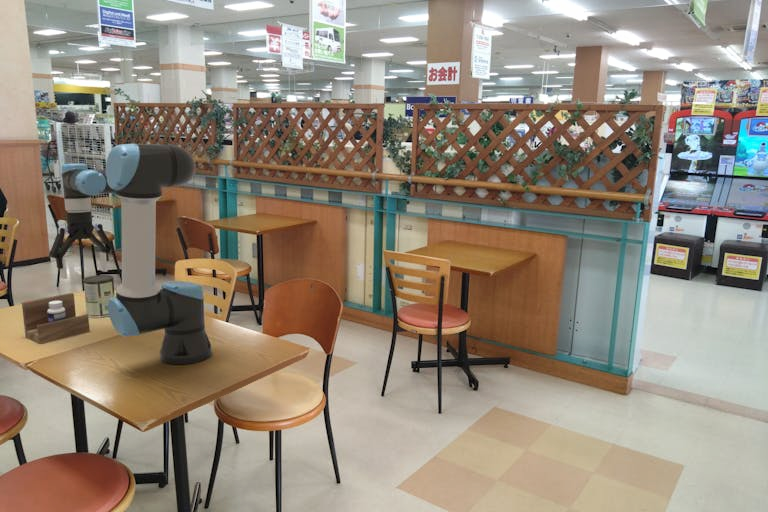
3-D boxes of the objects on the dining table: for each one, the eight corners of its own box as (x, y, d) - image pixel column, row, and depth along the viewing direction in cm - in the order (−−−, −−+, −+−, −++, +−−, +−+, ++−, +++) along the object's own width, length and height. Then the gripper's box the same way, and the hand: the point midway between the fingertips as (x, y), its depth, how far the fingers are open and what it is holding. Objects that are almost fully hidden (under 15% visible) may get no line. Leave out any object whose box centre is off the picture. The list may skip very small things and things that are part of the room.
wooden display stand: (89, 331, 197) (86, 297, 194) (40, 343, 184) (36, 308, 182) (74, 325, 203) (71, 292, 201) (25, 337, 190) (21, 302, 188)
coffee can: (96, 309, 222) (93, 274, 220) (121, 310, 221) (119, 275, 219) (80, 317, 212) (76, 280, 210) (106, 318, 211) (103, 281, 209)
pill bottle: (46, 327, 193) (44, 302, 191) (63, 323, 196) (61, 299, 195) (52, 330, 189) (49, 305, 187) (69, 327, 193) (66, 302, 191)
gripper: (108, 207, 199) (114, 267, 202) (32, 213, 179) (39, 280, 182) (120, 208, 195) (126, 269, 198) (44, 215, 174) (51, 282, 178)
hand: (84, 274), depth 190 cm, fingers open, 13 cm apart
